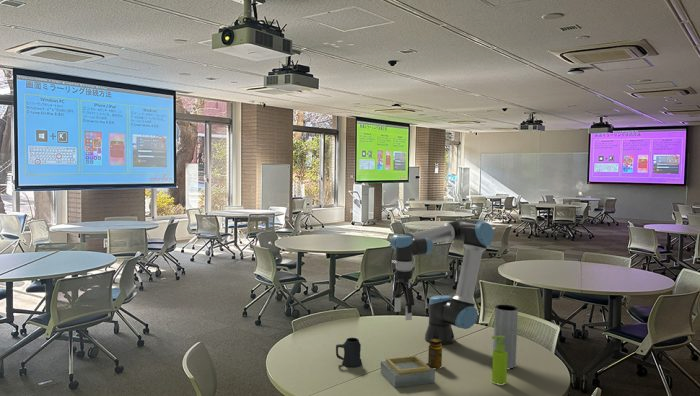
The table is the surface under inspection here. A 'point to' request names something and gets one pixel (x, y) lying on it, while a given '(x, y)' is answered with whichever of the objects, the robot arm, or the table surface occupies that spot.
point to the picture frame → (407, 371)
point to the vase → (506, 330)
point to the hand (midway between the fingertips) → (402, 315)
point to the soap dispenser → (499, 362)
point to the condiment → (435, 354)
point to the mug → (350, 353)
